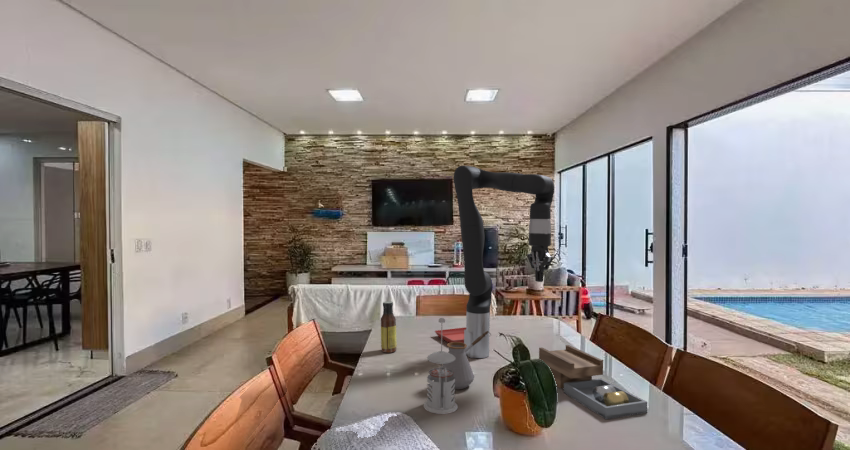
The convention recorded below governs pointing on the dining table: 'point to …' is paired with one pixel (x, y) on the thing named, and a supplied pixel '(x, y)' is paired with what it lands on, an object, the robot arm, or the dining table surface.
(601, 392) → the steel slug
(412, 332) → the dining table surface
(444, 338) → the plant saucer
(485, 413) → the dining table surface
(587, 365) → the brown open channel
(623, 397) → the brass slug
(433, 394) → the french press
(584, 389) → the grey tray
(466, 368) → the coffee pot
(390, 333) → the sauce bottle
